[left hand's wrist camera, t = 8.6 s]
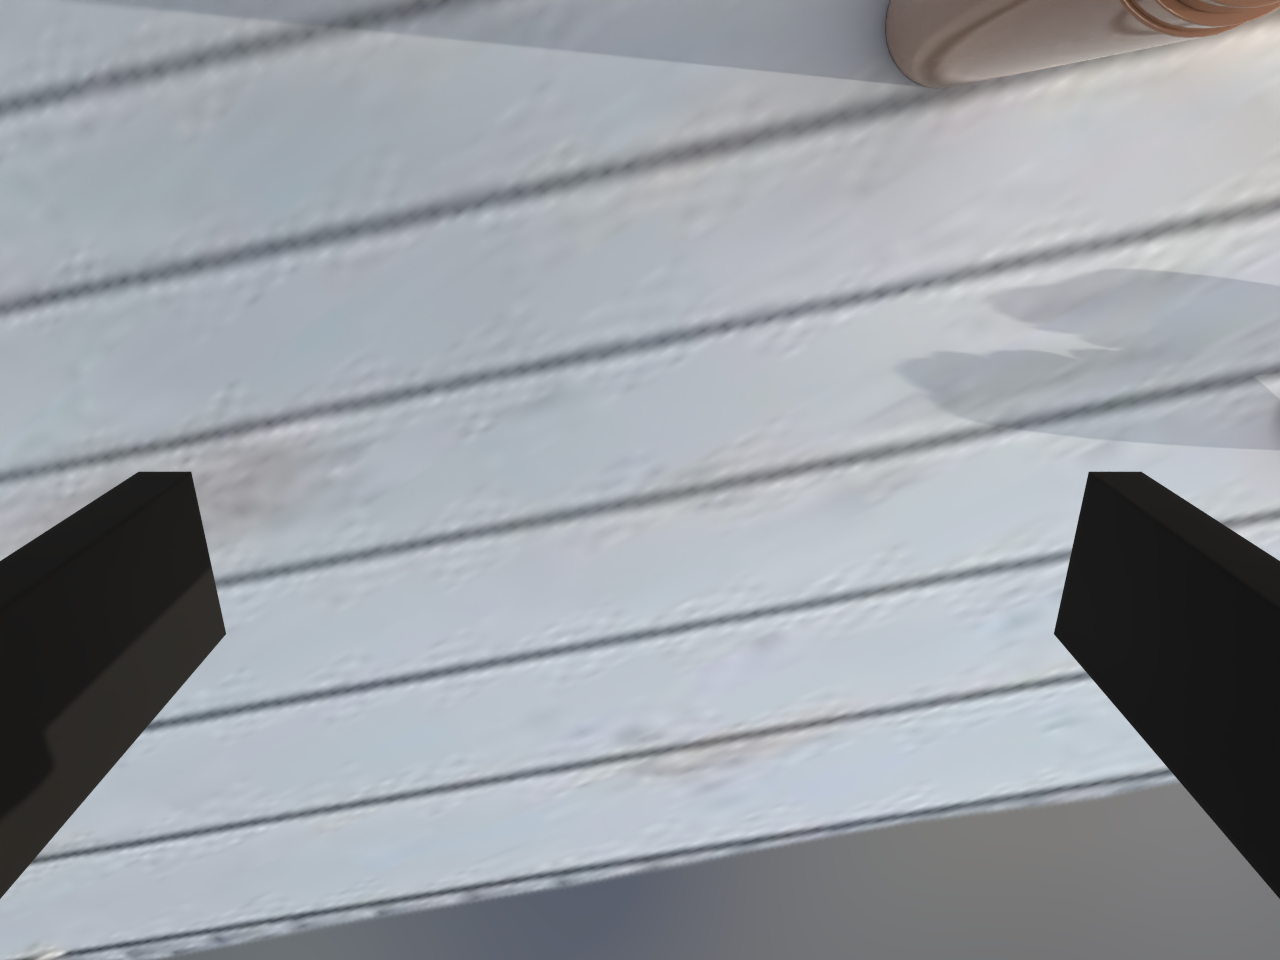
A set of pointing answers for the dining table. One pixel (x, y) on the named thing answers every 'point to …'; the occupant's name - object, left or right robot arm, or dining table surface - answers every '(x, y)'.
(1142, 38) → the bottle
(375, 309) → the dining table surface
